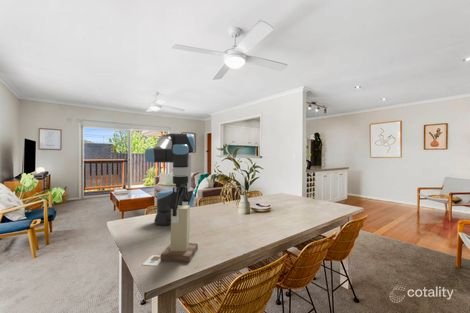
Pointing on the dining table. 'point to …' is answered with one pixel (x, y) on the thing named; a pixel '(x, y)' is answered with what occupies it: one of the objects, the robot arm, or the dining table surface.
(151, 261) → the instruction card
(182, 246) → the toy refrigerator
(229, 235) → the dining table surface
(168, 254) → the walnut plinth
